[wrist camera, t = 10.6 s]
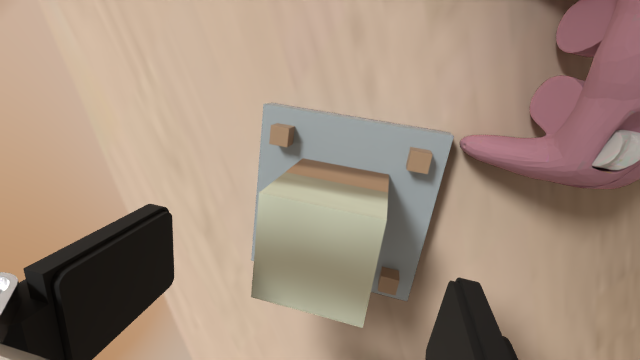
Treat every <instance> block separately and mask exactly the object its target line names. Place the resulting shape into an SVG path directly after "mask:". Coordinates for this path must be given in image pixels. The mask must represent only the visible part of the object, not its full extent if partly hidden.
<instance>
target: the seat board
mask: <svg viewBox="0 0 640 360" xmlns="http://www.w3.org/2000/svg"><path fill="white" fill-rule="evenodd" d="M453 137H454V136H453V135H452V134H451V133H449V132H443V131H437V130H431V129H425V128H419V127H413V126H407V125H401V124H395V123H390V122H384V121H378V120H372V119H366V118H360V117H354V116H348V115H342V114H336V113H330V112H324V111H318V110H312V109H306V108H300V107H294V106H288V105H282V104H276V103H267V104H264V106H263V119H262V131H261V144H260V157H259V170H258V182H257V195H256V208H255V220H254V233H253V246H252V259H251V260H252V261H254V254H255V240H256V227H257V213H258V200H259V192H261V191H262V190H263V189H264V188H266V187H267V186H268V185H269V184H271V183H272V182H273V181H274V180H276V179H277V178H278V177H280V176H281V175H282V174H283V173H285V172H286V171H287V170H288V169H290V168H291V167H292V166H293V165H295V164H296V163H297V162H299V161H300V160H301V159H302V158H304V159H310V160H315V161H320V162H326V163H331V164H336V165H341V166H347V167H352V168H357V169H363V170H368V171H373V172H378V173H384V174H389V185H388V206H387V222H386V226H385V231H384V235H383V239H382V244H381V248H380V253H379V257H378V262H377V266H376V271H375V275H374V280H373V284H372V289H371V292H373V293H377V294H381V295H385V296H389V297H392V298H396V299H400V300H404V301H408V297H409V294H410V290H411V287H412V283H413V280H414V276H415V272H416V269H417V265H418V262H419V258H420V255H421V251H422V247H423V244H424V240H425V237H426V233H427V230H428V226H429V223H430V219H431V215H432V212H433V208H434V205H435V201H436V198H437V194H438V190H439V187H440V183H441V180H442V176H443V173H444V169H445V166H446V162H447V158H448V155H449V151H450V148H451V144H452V141H453Z"/></svg>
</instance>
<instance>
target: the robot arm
mask: <svg viewBox="0 0 640 360" xmlns="http://www.w3.org/2000/svg"><path fill="white" fill-rule="evenodd" d="M24 273H25V277H26V279H25V280H23V281H22V282H20V283H19V282H18V279H17V278H16V276H15V275H12V274H10V273H3V272H0V360H92V359H93V358H94V357H95V356H97V354H99V353H100V352H101V351H102V350H103V349H104V348H105V347H106V346H107V345H108V344H109V343H110V342H111V341H113V339H115V338H116V337H117V336H118V335H119V334H120V333H121V332H122V331H123V330H124V329H125V328H126V327H127V326H128V325H130V324H131V323H132V322H133V321H134V320H135V319H136V318H137V317H138V316H139V315H140V314H141V313H142V312H143V311H145V310H146V309H147V308H148V307H149V306H150V305H151V304H152V303H153V302H154V301H155V300H156V299H157V298H158V297H159V296H160V295H162V294H163V293H164V292H165V291H166V290H167V289H168V288H169V287H170V286H171V284H172V282H173V280H174V257H173V228H172V215H171V213H169V211H168V209H167V208H166V207H162V206H158V205H154V204H148V205H146V206H144V207H142V208H140V209H138V210H136V211H134V212H132V213H130V214H128V215H126V216H124V217H122V218H120V219H118V220H117V221H115V222H113V223H111V224H109V225H107V226H105V227H103V228H101V229H99V230H97V231H95V232H93V233H91V234H90V235H88V236H86V237H84V238H82V239H80V240H78V241H76V242H74V243H72V244H70V245H68V246H66V247H64V248H62V249H60V250H58V251H57V252H55V253H53V254H51V255H49V256H47V257H45V258H43V259H41V260H39V261H37V262H35V263H33V264H31V265H29V266H28V267H26V268H24ZM426 360H518V358H517V356H516V354H515V351H514V349H513V347H512V345H511V343H510V341H509V340H508V339H507V338H506V337H504V336H502V334H501V332H500V329H499V327H498V325H497V322H496V320H495V318H494V315H493V313H492V311H491V308H490V306H489V304H488V301H487V299H486V296H485V294H484V292H483V289H482V287H481V285H480V283H478V282H475V281H471V280H467V279H463V278H457V279H456V281H455V282H454V281H450V282H449V284H448V286H447V289H446V292H445V295H444V298H443V301H442V304H441V307H440V310H439V313H438V316H437V319H436V322H435V325H434V328H433V331H432V334H431V337H430V340H429V343H428V345H427V349H426Z"/></svg>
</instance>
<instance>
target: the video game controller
mask: <svg viewBox="0 0 640 360" xmlns="http://www.w3.org/2000/svg"><path fill="white" fill-rule="evenodd" d="M556 40H557V45H558V47H559V48H560V49H561V50H563V51H565V52H567V53H572V54H576V55H580V56H584V57H594V58H593V61H592V64H591V67H590V70H589V73H588V76H587V78H586V81H584V80H579V79H577V78H574V77H570V76H565V75H560V76H554V77H552V78H550V79H548V80H546V81H545V82H544V83H543V84H542V85H541V86H540V87H539V88H538V89H537V91H536V92H535V94H534V96H533V97H532V100H531V104H530V114H531V117H532V118H533V119H534V121H535V122H536V123H537V124H538V125H539V126H540V127H541V128H542V129H543V130H544V131H545V133H546V135H545V136H543V137H538V138H515V137H506V136H496V135H471V136H466V137H464V138H463V139H461V141H460V147H461V149H462V150H463V151H464V152H466V153H467V154H468V155H470V156H471V157H473V158H475V159H477V160H479V161H482V162H485V163H488V164H491V165H493V166H496V167H499V168H502V169H505V170H508V171H511V172H514V173H517V174H520V175H523V176H527V177H530V178H534V179H540V180H546V181H550V182H555V183H559V184H564V185H568V186H574V187H580V188H593V189H614V188H620V187H623V186H626V185H629V184H631V183H633V182H635V181H636V180H638V179H640V0H579V1H578V2H576V3H575V4H574V5H573V6H571V7H570V8H569V9H568V10H567V11H566V13H565V14H564V16H563V17H562V19H561V21H560V23H559V26H558V29H557V33H556Z"/></svg>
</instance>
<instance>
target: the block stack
mask: <svg viewBox="0 0 640 360" xmlns="http://www.w3.org/2000/svg"><path fill="white" fill-rule="evenodd" d="M388 185H389V174H384V173H378V172H373V171H368V170H363V169H357V168H352V167H347V166H341V165H336V164H331V163H326V162H320V161H315V160H310V159H304V158H302V159H301V160H300V161H299V162H297V163H296V164H295V165H293V166H292V167H291V168H290V169H288V170H287V171H286V172H285V173H283V174H282V175H281V176H280V177H278V178H277V179H276V180H274V181H273V182H272V183H271V184H269V185H268V186H267V187H266V188H264V189H263V190H262V191H261V192H259V200H258V213H257V227H256V240H255V254H254V267H253V280H252V294H251V297H253V298H257V299H260V300H264V301H267V302H271V303H275V304H278V305H282V306H285V307H289V308H292V309H296V310H300V311H303V312H307V313H310V314H314V315H318V316H321V317H325V318H328V319H332V320H336V321H339V322H343V323H346V324H350V325H353V326H357V327H361V328H363V325H364V320H365V316H366V311H367V307H368V302H369V298H370V293H371V289H372V284H373V280H374V275H375V271H376V266H377V262H378V257H379V253H380V248H381V244H382V239H383V235H384V231H385V226H386V222H387V206H388Z"/></svg>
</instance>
